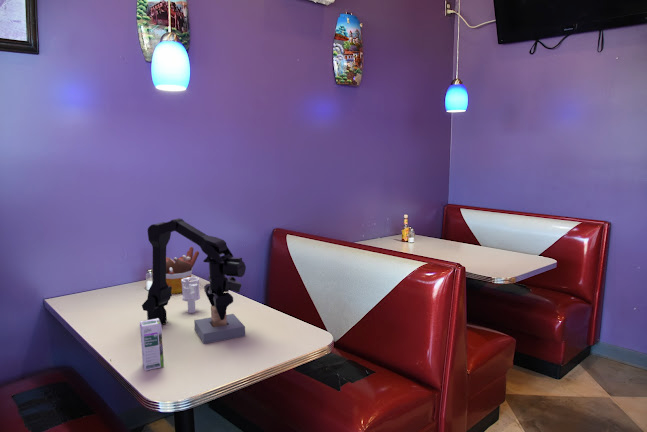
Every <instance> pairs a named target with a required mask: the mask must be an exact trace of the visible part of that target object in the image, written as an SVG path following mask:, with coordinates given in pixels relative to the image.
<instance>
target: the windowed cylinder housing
mask: <svg viewBox="0 0 647 432" xmlns="http://www.w3.org/2000/svg"><path fill="white" fill-rule="evenodd" d="M189 280H190V281H189ZM181 282H182V293H181V294H182V295H181V297H182V301H183V302H187V312H188V313H189V314H192V313H195V312H196V311H197V309H196V301H198V300H200V298H201V295H200V278H199V277H196V276H191V277H187V278H183V279H182V280H181ZM184 285H185V286H184Z"/></svg>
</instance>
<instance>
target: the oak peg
mask: <svg viewBox="0 0 647 432" xmlns="http://www.w3.org/2000/svg"><path fill="white" fill-rule="evenodd" d="M210 315H211V316H210V317H211V322H212V327H218V326H224V325H227V318H226V315H227V312H226V313H225V317H224V320H221V319H220V317H219V314H218V312H217V310H216V307H215V306H210Z"/></svg>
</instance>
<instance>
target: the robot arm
mask: <svg viewBox="0 0 647 432" xmlns="http://www.w3.org/2000/svg"><path fill="white" fill-rule="evenodd" d="M172 232H176V233H178V234H179V235H181V236H183V237H184V238H186V239H188V240H189V241H191V242H192V243H194V244H196V245H197V246H198V247H200V249H201V251H202V252H203V253H204V254H205V255H206V256H207V257H206V258H204V260H202V261H203V263H208V273H209V276H207V280H208V281H209V283H205V284H204V286H203V289H204V293H205V295H206V297H207V299H208V301H209V304H210V305H211V306H215V307H216V310H217V312H218V314H219V317H220V319H221V320H224V317H225V313H226V314H227V309H228V307H229V305H231V304H233V303H234V296H233V295H232V294H230V293H229V291H232V292H236V293H240V292H241V289H242V285H243V284H242V283H241V282H240V281H238V280H236V278H235V277H237V278H242V277H244V276H245V274H246V268H247V267H246V264H245V261H244V260H243V257H234V254H233V253H232V252H231V250H230V249H229V247H228V246H227V245H228V244H227V242H226V240H224V239H222V238H219V237H217V236H212V235H207V234H206V233H204V232H202V231H201V230H200V229H198V228H196V227H194V226H193V225H191V224H190V223H187V221H185V220H184V219H183V218H180V217H179V218H178V217H177V218H175V219H170V221H167V222H164V221H162V222H158V223H154V224H151V225H149V227H147V237H148V241H149V244H150V245H151V247H152V274H151V275H152V278H151V279H152V283H151V285H150V287H149V288H148V292H147V299H146V300H145V301H144V302H143V303H142V305H141V306H142V310H143V311H145V312H146V317H147V319H146V320H151V319H156V318H159V320H160V322H161V326H162V325H166V324H167V318H168V317H167V316H168V315H167V309H165V307H166V306H167V305H169V304H168V303H169V301H170V300H171V297H173V294H171V290H172V287H171V286H168V284H167V283H166V257H167V246H168V244H169V242H170V241H171V240H170V239H171V235H172ZM211 306H210V307H211Z"/></svg>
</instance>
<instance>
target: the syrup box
mask: <svg viewBox="0 0 647 432" xmlns="http://www.w3.org/2000/svg"><path fill="white" fill-rule="evenodd" d="M139 330H140V332H139V333H140V343H141V344H140V345H141V358H142V365H143V369H144V371H145V372H147V371H150V370H155V369H160V368H164V367H165V364H164V350H163V349H164V348H163V346H164V344H163V333H162V332H163V331H162V330H163V329H162V325H161V322H160V320H159V318H156V319H151V320H147V319H146V320H141V321H139Z"/></svg>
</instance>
